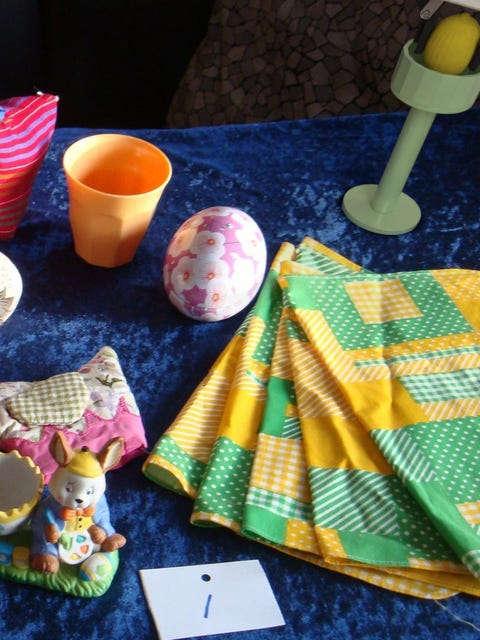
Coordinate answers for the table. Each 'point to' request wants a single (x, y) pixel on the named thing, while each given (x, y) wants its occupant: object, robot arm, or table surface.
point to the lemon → (452, 44)
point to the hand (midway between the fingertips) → (448, 56)
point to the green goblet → (409, 141)
